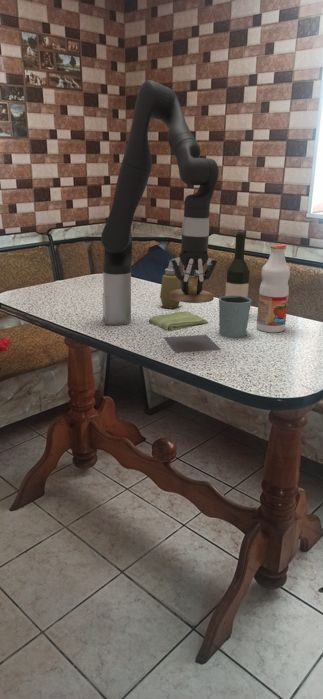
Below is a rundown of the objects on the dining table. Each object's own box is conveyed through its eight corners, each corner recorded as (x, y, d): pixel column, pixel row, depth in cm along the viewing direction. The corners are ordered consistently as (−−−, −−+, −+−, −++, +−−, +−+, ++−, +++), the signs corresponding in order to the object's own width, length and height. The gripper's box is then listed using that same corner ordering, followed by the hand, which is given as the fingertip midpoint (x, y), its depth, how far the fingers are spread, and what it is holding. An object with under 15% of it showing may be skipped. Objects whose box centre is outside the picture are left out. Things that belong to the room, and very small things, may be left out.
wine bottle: (220, 316, 189) (225, 231, 178) (228, 311, 196) (233, 229, 185) (242, 320, 185) (248, 233, 175) (249, 314, 192) (256, 231, 182)
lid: (175, 303, 146) (176, 282, 144) (164, 292, 158) (165, 272, 156) (219, 302, 149) (221, 281, 147) (205, 291, 161) (207, 272, 159)
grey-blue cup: (214, 338, 166) (216, 301, 162) (220, 328, 175) (222, 293, 171) (246, 341, 163) (249, 304, 159) (250, 332, 172) (253, 296, 168)
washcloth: (210, 326, 179) (210, 317, 178) (168, 334, 170) (168, 325, 168) (186, 316, 189) (186, 308, 188) (145, 324, 180) (145, 315, 178)
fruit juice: (261, 323, 182) (268, 241, 173) (288, 327, 178) (297, 244, 168) (252, 330, 174) (259, 245, 165) (279, 334, 170) (288, 247, 161)
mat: (175, 354, 151) (175, 352, 151) (163, 339, 164) (163, 337, 164) (221, 351, 154) (221, 349, 154) (206, 336, 167) (206, 334, 167)
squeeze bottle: (181, 304, 204) (183, 258, 198) (180, 309, 196) (181, 261, 190) (160, 303, 204) (161, 257, 198) (158, 308, 197) (159, 261, 191)
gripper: (174, 235, 142) (171, 297, 148) (223, 235, 145) (218, 296, 151) (167, 231, 149) (165, 290, 155) (215, 232, 152) (210, 290, 158)
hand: (191, 293), depth 153 cm, fingers closed on lid, 3 cm apart
